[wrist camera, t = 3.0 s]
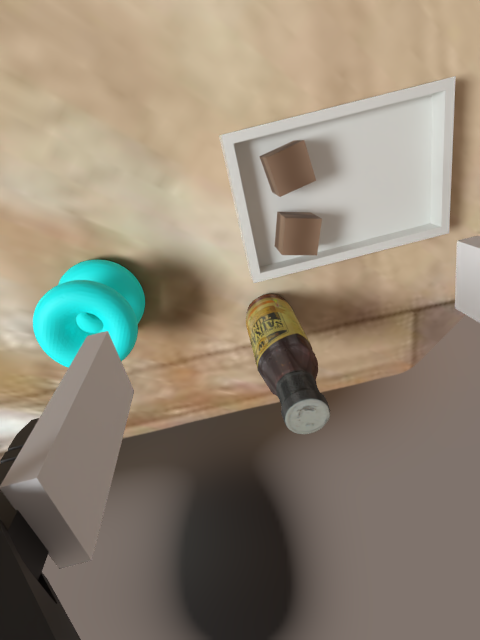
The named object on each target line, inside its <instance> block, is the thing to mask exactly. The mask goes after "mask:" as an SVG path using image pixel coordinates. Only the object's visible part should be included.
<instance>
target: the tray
mask: <svg viewBox="0 0 480 640" xmlns="http://www.w3.org/2000/svg"><path fill="white" fill-rule="evenodd" d="M454 101H455V77H451V78H447V79H443V80H439V81H435V82H431V83H427V84H423V85H419V86H415V87H411V88H407V89H403V90H399V91H395V92H391V93H387V94H383V95H379V96H375V97H371V98H367V99H363V100H359V101H355V102H351V103H347V104H343V105H339V106H335V107H331V108H327V109H323V110H319V111H315V112H311V113H307V114H303V115H299V116H295V117H291V118H287V119H283V120H279V121H275V122H271V123H267V124H263V125H259V126H255V127H251V128H247V129H243V130H239V131H235V132H231V133H227V134H223V135H219V137H220V142H221V146H222V151H223V155H224V160H225V164H226V169H227V173H228V178H229V182H230V187H231V191H232V196H233V200H234V205H235V209H236V214H237V218H238V223H239V227H240V232H241V236H242V241H243V245H244V250H245V254H246V259H247V263H248V268H249V272H250V276H251V278H252V280H253V282H254V283H256V282H260V281H264V280H268V279H272V278H276V277H280V276H284V275H288V274H292V273H295V272H299V271H303V270H307V269H311V268H315V267H319V266H323V265H327V264H331V263H334V262H338V261H342V260H346V259H350V258H354V257H358V256H362V255H366V254H370V253H373V252H377V251H381V250H385V249H389V248H393V247H397V246H401V245H405V244H409V243H412V242H416V241H420V240H424V239H428V238H432V237H436V236H440V235H444V234H448V233H449V224H450V199H451V175H452V150H453V126H454ZM294 140H304V141H305V144H306V148H307V151H308V154H309V158H310V161H311V165H312V168H313V171H314V175H315V178H316V181H314V182H312V183H310V184H308V185H305V186H303V187H301V188H299V189H297V190H294V191H292V192H290V193H288V194H286V195H283V196H281V197H279V196H278V195H276V194H274V193H273V192H272V190H271V188H270V185H269V182H268V179H267V176H266V174H265V171H264V168H263V165H262V162H261V159H260V157H259V156H261V155H263V154H266V153H268V152H270V151H272V150H274V149H276V148H279V147H281V146H283V145H285V144H287V143H289V142H291V141H294ZM277 212H311V213H313V214H315V215H316V216H318V217H320V218H322V223H321V230H320V238H319V245H318V252H317V255H281V253H280V252H279V251H278V250H277V248H276V247H275V234H276V222H277Z"/></svg>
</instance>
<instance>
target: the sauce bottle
mask: <svg viewBox="0 0 480 640" xmlns="http://www.w3.org/2000/svg"><path fill="white" fill-rule="evenodd" d="M246 325H247V330H248V333H249V337H250V341H251V345H252V349H253V353H254V357H255V360H256V364H257V368H258V371H259V373H260V375H261V376H262V378H263V379H264V381H265V382H266V384H267V386H268V387H269V389H270V390H271V392H272V393H273V394H275V395H277V396H278V398H279V399H280V403H281V406H282V411H281V413H282V416H283V419H284V422H285V424H286V426H287V427H288V428H289V429H290V430H291V431H293V432H295V433H298V434H308V433H313V432H315V431H317V430H319V429H321V428H322V427H323V426H324V425H325V424H326V422H327V421H328V420H329V417H330V409H329V406H328V403H327V401H326V398H325V397H324V395H322V394H321V393H320V392H319V390H318V388H317V385H316V377H317V373H318V362H317V359H316V357H315V354H314V353H313V351H312V347H311V344H310V342H309V341H308V339H307V337H306V335H305V333H304V331H303V329H302V327H301V325H300V323H299V322H298V320H297V318H296V316H295V314H294V312H293V310H292V308H291V307H290V305H289V304H288V303H287V302H286V301H285V300H284V299H283V298H282V297H280V296H278V295H274V294H266V295H263V296H260V297H258V298H257V299H255V300H254V301H253V302H252V303H251V304H250V305H249V307H248V311H247V316H246Z"/></svg>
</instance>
